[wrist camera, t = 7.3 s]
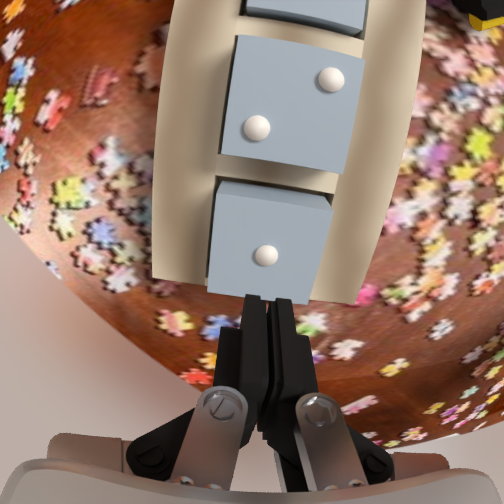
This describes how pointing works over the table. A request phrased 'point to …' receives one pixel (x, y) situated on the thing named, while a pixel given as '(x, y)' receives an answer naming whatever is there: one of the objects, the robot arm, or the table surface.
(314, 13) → the tile three
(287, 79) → the tile two
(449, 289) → the table surface
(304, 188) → the board
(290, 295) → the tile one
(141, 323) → the table surface
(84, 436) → the robot arm
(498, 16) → the toy gun
